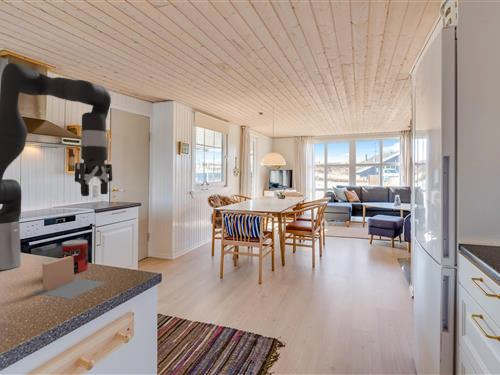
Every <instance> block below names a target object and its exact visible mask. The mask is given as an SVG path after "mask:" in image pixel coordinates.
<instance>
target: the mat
mask: <svg viewBox="0 0 500 375" xmlns="http://www.w3.org/2000/svg"><path fill="white" fill-rule="evenodd" d="M105 284H106V282H104V281H99V280H98V281H97V280H92V279H91V280H89V279H83V278H76V277H74V281H73V282H70V283H67V284H65V285H62V286H60V287H57V288H55V289H52V290H50V291H43V287H40V288H39V289H36V290H33V291H31V293H33V294H39V295H45V296H52V297H56V298H62V299H69V300H71V299H74V298H75V297H79V296H80V295H82V294H85V293H87V292H89V291H91V290H93V289H96V288H98V287H100V286H102V285H105Z"/></svg>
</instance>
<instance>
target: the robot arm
mask: <svg viewBox="0 0 500 375" xmlns="http://www.w3.org/2000/svg"><path fill="white" fill-rule="evenodd" d="M20 94H24V95H28V96H49V97H50V96H51V97H54V98H57V99H60V100H61V99H62V100H66V101H69V102H75V103H80V104H84V105H88V106H92V109H91V111H90V112H89V111H87V112H84V113H82V115H81V135H80V149H81V150H80V151H81V152H80V153H81V155H80V158H81V159H82V160H83V162H75V163H74V182H75V183H79V185H80V194H81V196H82V197H89V196H90V184H89V183H90V181H91V180H92V179H93V178H94V177H96V178H97V179H98V180H99V182H100V194H101V195H108V192H109V183H110V182H112V181H113V166H112V164H111V163H106V161H107V160H108V138H107V121H106V120H107V118H108V113H109V110H110V107H111V104H112V97H111V93H110V91H109V90H108V88H106V87H104V86H103V85H99V84H96V83H94V82H91V81H88V80H83V79H73V78H66V77H61V76H60V77H59V76H58V77H50V76H47V75H45V74H43V73H41V72H40V71H36V70H35V69H33V68H29V67H28V66H24V65H20V64H18V63H14V62H9V63H7V64H5V66H4V68H3V70H2V73H1V79H0V205H2V206H1V207H0V271H4V270H5V271H6V270H10V269H14V268H18V267H19V266H21V265H22V264H21V263H22V262H21V232H20V231H21V229H20V224H21V223H20V216H21V213H22V193H23V192H22V188H21V184H20V183H19V181H18V180H15V179H7V178H6V179H3V177H4V175H5V172H6V170H7V169H8V167H9V166H10V165H11V164H12V163H13V162H15V160H16V159H17V158H18V157H19V156H20V155H21V154H22V153H23V151H24V150H25V146H26V143H27V142H26V141H27V138H28V129H27V125H26V122H25V120H24V119H23V117H22V114H21V112H20V109H19V96H20Z"/></svg>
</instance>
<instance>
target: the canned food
mask: <svg viewBox="0 0 500 375" xmlns="http://www.w3.org/2000/svg"><path fill="white" fill-rule="evenodd" d="M88 244H89V243H88V240H87V239H72V240H71V239H70V240H67V241H64V242H62V243H61V258H64V257H68V256H73V258H74V274H80V273H83V272H85V271H87V270H88V269H89V253H88V252H89V250H88V249H89V248H88V246H89V245H88Z"/></svg>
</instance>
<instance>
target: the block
mask: <svg viewBox="0 0 500 375" xmlns="http://www.w3.org/2000/svg"><path fill="white" fill-rule="evenodd" d="M41 267H42V268H41V269H42V288H43V291H50V290H52V289H55V288H57V287H60V286H62V285H65V284H67V283H70V282H73V281H74V278H75V273H74V258H73V256H68V257H64V258H62V257H61V258H59V259H56V260H52V261H48V262H44V263H42V264H41Z"/></svg>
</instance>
